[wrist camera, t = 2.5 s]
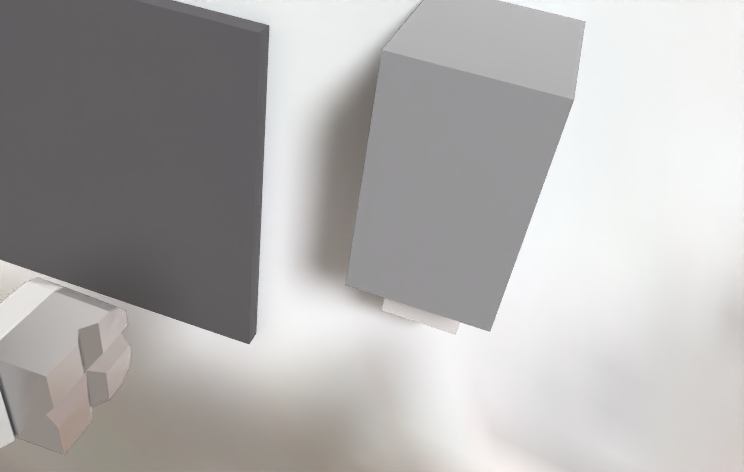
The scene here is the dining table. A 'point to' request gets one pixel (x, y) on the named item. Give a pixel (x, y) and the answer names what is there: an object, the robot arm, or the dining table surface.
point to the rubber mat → (136, 153)
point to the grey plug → (459, 155)
